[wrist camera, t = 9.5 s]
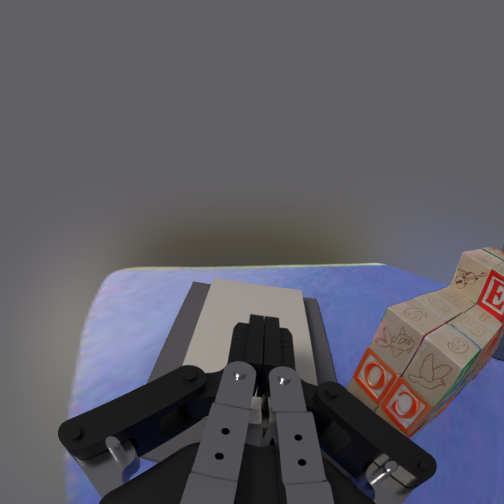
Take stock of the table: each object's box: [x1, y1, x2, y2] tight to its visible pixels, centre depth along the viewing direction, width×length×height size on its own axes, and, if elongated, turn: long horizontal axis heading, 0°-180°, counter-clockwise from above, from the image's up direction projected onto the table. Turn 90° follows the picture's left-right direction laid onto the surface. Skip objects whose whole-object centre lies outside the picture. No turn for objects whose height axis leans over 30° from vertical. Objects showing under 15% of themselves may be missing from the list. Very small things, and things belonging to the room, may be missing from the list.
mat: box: [140, 282, 352, 478], centre depth 22 cm, size 21×14×1 cm, turn 177°
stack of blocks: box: [346, 247, 504, 439], centre depth 18 cm, size 21×6×12 cm, turn 114°
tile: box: [182, 278, 318, 424], centre depth 22 cm, size 2×9×15 cm
